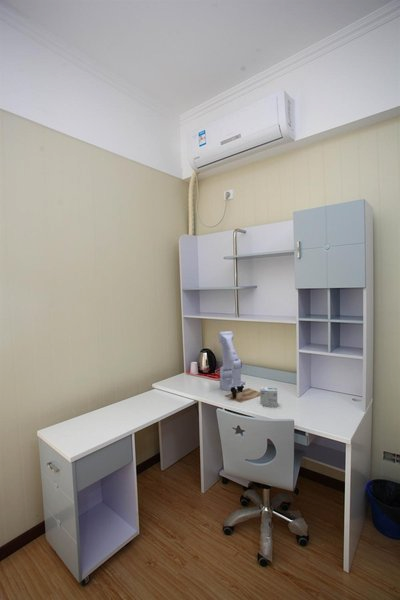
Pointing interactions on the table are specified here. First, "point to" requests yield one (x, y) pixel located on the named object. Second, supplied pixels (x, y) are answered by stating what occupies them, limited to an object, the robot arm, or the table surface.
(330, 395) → the table surface
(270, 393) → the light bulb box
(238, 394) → the block
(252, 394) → the board
